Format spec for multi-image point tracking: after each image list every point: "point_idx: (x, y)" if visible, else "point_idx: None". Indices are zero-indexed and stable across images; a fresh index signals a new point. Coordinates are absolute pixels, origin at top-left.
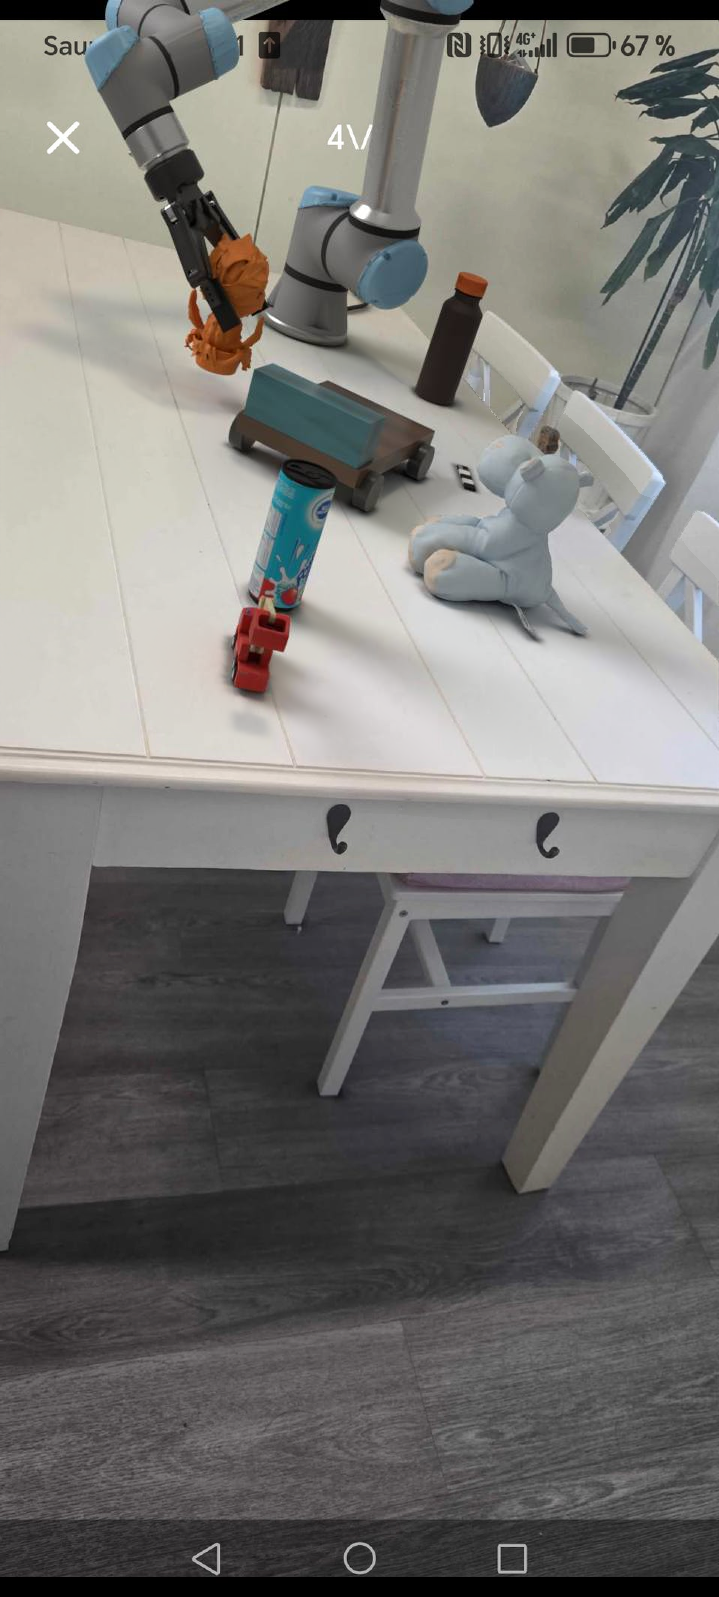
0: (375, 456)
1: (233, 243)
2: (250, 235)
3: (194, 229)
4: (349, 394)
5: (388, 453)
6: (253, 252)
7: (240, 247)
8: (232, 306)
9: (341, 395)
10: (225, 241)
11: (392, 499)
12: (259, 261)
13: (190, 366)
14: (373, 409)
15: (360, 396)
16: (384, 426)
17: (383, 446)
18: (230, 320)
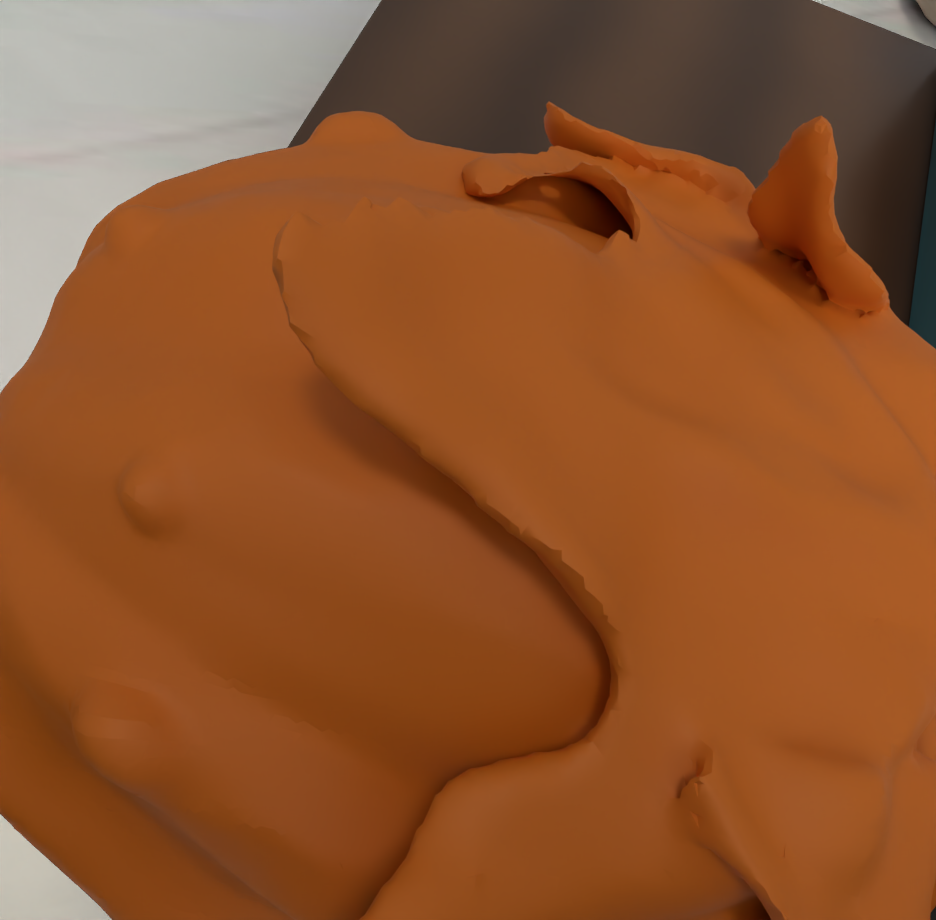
0: (900, 49)
1: (705, 652)
2: (344, 233)
3: None
4: (378, 93)
5: (833, 14)
6: (840, 234)
7: (812, 473)
8: None
9: (424, 121)
10: (819, 857)
11: None
12: (695, 209)
13: (65, 878)
14: (465, 23)
15: (360, 56)
16: (604, 4)
17: (793, 22)
18: None
